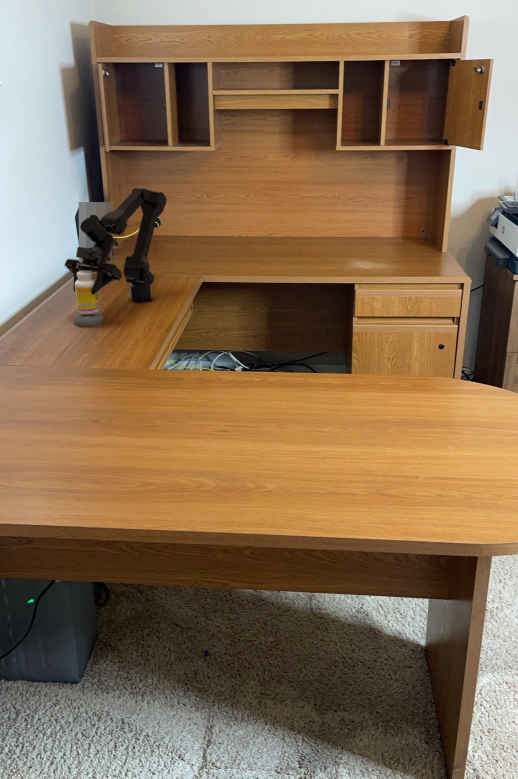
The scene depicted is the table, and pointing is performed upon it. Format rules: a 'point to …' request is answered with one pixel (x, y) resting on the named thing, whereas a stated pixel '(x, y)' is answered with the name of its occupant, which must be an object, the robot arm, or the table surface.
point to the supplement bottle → (85, 293)
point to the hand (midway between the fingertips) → (83, 292)
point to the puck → (88, 319)
